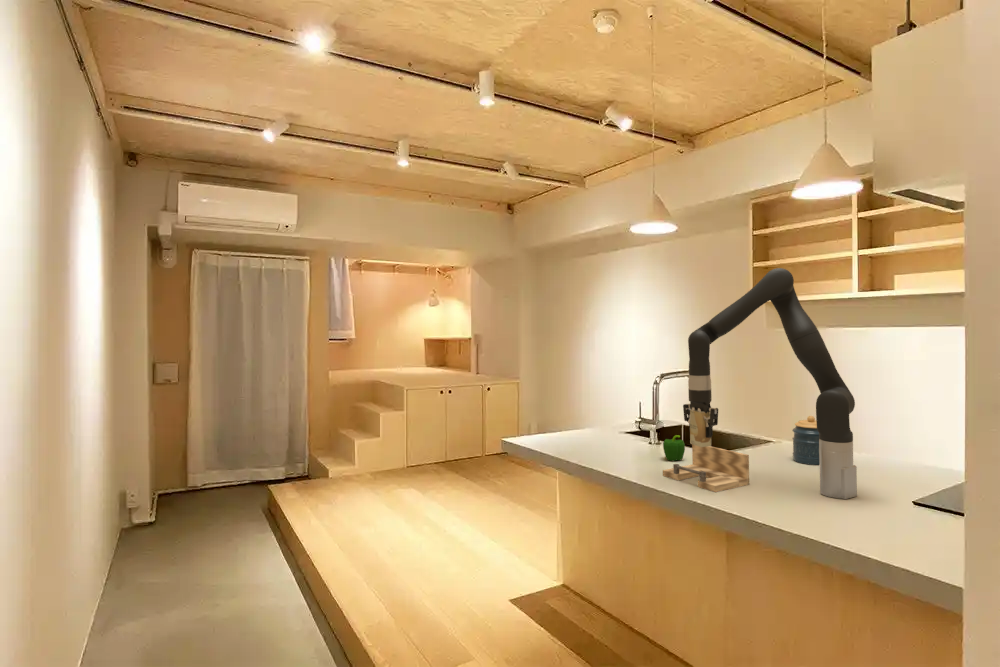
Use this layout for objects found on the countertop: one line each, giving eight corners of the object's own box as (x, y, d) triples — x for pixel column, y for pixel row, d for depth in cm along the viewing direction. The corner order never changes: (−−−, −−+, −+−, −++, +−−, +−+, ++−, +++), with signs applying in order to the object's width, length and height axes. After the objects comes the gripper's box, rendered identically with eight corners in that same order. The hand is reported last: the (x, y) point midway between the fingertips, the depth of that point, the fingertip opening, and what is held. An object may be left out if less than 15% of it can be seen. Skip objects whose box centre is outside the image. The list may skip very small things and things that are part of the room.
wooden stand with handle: (749, 484, 196) (748, 454, 196) (715, 492, 189) (714, 461, 188) (695, 469, 217) (694, 442, 217) (662, 475, 210) (662, 448, 210)
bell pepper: (658, 460, 233) (658, 435, 233) (670, 456, 238) (669, 432, 238) (677, 463, 227) (676, 438, 226) (688, 459, 232) (688, 434, 232)
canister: (797, 464, 219) (796, 418, 219) (789, 456, 232) (788, 412, 231) (835, 466, 216) (835, 418, 216) (825, 457, 229) (824, 413, 228)
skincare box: (689, 444, 204) (688, 409, 204) (699, 442, 206) (699, 408, 205) (702, 447, 198) (701, 411, 198) (712, 446, 200) (711, 410, 199)
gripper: (724, 389, 197) (725, 438, 197) (692, 385, 210) (693, 431, 210) (708, 390, 193) (709, 440, 194) (676, 387, 206) (677, 433, 207)
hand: (700, 435), depth 202 cm, fingers closed on skincare box, 6 cm apart
